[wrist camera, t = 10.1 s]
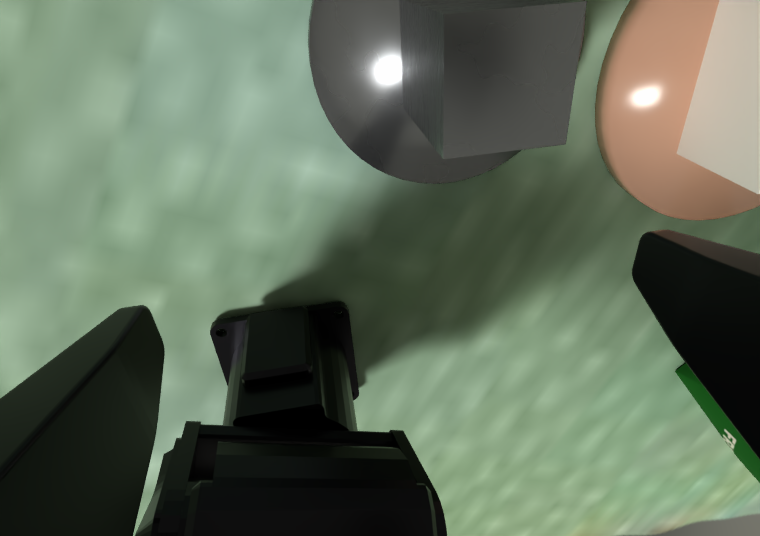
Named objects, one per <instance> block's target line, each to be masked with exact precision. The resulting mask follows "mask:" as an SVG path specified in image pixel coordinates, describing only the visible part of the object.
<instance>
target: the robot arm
mask: <svg viewBox="0 0 760 536" xmlns="http://www.w3.org/2000/svg"><path fill="white" fill-rule="evenodd" d="M632 276H633V280H634V282H635V284H636V286H637V287H638V289H639V291H640V292H641V294H642V296H643V297H644V299H645V301H646V302H647V304H648V306H649V307H650V309H651V310H652V312H653V314H654V315H655V317H656V319H657V320H658V322H659V324H660V325H661V327H662V329H663V330H664V332H665V334H666V335H667V337H668V338H669V340H670V341H671V343H672V344H673V346H674V347H675V349H676V350H677V352H678V353H679V354H680V356H681V357H682V358H683V360H684V361H685V362H686V364H687V365H688V366H689V368H690V369H691V370H692V372H693V373H694V374H695V375H696V377H697V378H698V379H699V381H700V382H701V383H702V385H703V386H704V387H705V389H706V390H707V391H708V393H709V394H710V395H711V397H712V398H713V399H714V400H715V402H716V403H717V404H718V406H719V407H720V408H721V410H722V411H723V412H724V414H725V415H726V416H727V418H728V419H729V420H730V422H731V423H732V424H733V426H734V427H735V428H736V429H737V431H738V432H739V433H740V435H741V436H742V437H743V439H744V440H745V441H746V443H747V444H748V445H749V447H750V448H751V449H752V451H753V452H754V453H755V454H756V456H757V457H758V458H759V460H760V254H757V253H753V252H749V251H746V250H742V249H738V248H735V247H731V246H727V245H723V244H720V243H716V242H712V241H709V240H705V239H701V238H697V237H694V236H690V235H686V234H682V233H679V232H675V231H671V230H658V231H651V232H646V233H645V234H643V235H642V237H641V238H640V241H639V245H638V249H637V253H636V257H635V260H634V264H633V268H632ZM335 311H342V312H341V313H340V314H335V313H334V312H335ZM220 328H222V329H225V330H226V331H219V330H218V329H220ZM210 335H211V338H212V341H213V344H214V347H215V350H216V353H217V355H218V358H219V361H220V364H221V367H222V370H223V373H224V376H225V379H226V382H227V385H228V391H227V399H226V406H225V414H224V421H223V425H203V424H201V422H195V421H186V424H185V427H184V431H183V434H182V438H176V441H175V445H174V448H173V449H172V450H171V451H169V452H167V453H165V454H164V456H163V460H162V464H161V468H160V472H159V476H158V480H157V484H156V488H155V491H154V494H153V497H152V499H151V501H150V503H149V506H148V508H147V510H146V512H145V514H144V517H143V519H142V521H141V523H140V525H139V528H138V530H137V532H136V535H135V536H447V530H446V524H445V518H444V513H443V509H442V506H441V502H440V500H439V497H438V495H437V493H436V491H435V489H434V487H433V485H432V483H431V481H430V479H429V478H428V476H427V474H426V472H425V470H424V468H423V467H422V465H421V463H420V461H419V459H418V457H417V455H416V454H415V452H414V450H413V448H412V446H411V444H410V443H409V441H408V439H407V437H406V435H405V433H404V431H400V430H390V431H389V432H368V431H358V430H357V423H356V417H355V410H354V404H353V400H355V399H356V398H357V397H358V396H359V390H358V382H357V374H356V366H355V358H354V350H353V342H352V334H351V326H350V319H349V311H348V307H347V305H346V304H345V303H343V302H331V303H324V304H317V305H310V306H304V307H302V306H300V307H293V308H287V309H280V310H273V311H267V312H260V313H253V314H250V315H243V316H237V317H230V318H223V319H218V320H215V321H214V322H213V323H212V325H211V330H210ZM163 364H164V344H163V341H162V338H161V336H160V333H159V331H158V329H157V326H156V324H155V321H154V319H153V316H152V314H151V312H150V310H149V309H148V308H147V307H146V306H144V305H139V306H132V307H125V308H121V309H119V310H117V311H116V312H114V313H113V314H112V315H110V316H109V317H108V318H106V319H105V320H104V321H103V322H101V323H100V324H99V325H97V326H96V327H95V328H93V329H92V330H91V331H89V332H88V333H87V334H85V335H84V336H83V337H81V338H80V339H79V340H77V341H76V342H75V343H73V344H72V345H71V346H69V347H68V348H67V349H65V350H64V351H63V352H61V353H60V354H59V355H57V356H56V357H55V358H54V359H52V360H51V361H50V362H48V363H47V364H46V365H44V366H43V367H42V368H40V369H39V370H38V371H36V372H35V373H34V374H32V375H31V376H30V377H28V378H27V379H26V380H24V381H23V382H22V383H20V384H19V385H18V386H16V387H15V388H14V389H12V390H11V391H10V392H9V393H7V394H6V395H5V396H3V397H2V398H1V399H0V536H133V532H134V528H135V523H136V519H137V515H138V511H139V506H140V502H141V498H142V493H143V489H144V485H145V480H146V476H147V472H148V467H149V463H150V459H151V454H152V450H153V446H154V441H155V436H156V429H157V422H158V413H159V403H160V393H161V384H162V374H163Z"/></svg>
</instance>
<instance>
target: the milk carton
mask: <svg viewBox="0 0 760 536" xmlns="http://www.w3.org/2000/svg"><path fill="white" fill-rule="evenodd" d="M675 372H676V373H677V375H678V376H679V377H680V379H681V380H682V382H683V383H684V384H685V386H686V387H687V389H688V390H689V391H690V393H691V394H692V396H693V397H694V398H695V400H696V401H697V403H698V404H699V405H700V407H701V408H702V410H703V411H704V412H705V414H706V415H707V417H708V418H709V419H710V421H711V422H712V424H713V425H714V426H715V428H716V429H717V430H718V432H719V433H720V435H721V436H722V437H723V439H724V440H725V442H726V443H727V444H728V446H729V447H730V448H731V450H732V451H733V452H734V453H735V455H736V456H737V457H738V458H739V460H740V461H741V462H742V463H743V464H744V465H745V467H746V468H747V469H748V470H749V471H750V472H751V473H752V475H753V476H754V477H755V478H756V479H757V480H758V481H759V482H760V460H759V458H758V457H757V456H756V454H755V453H754V452H753V451H752V449H751V448H750V447H749V445H748V444H747V443H746V441H745V440H744V439H743V437H742V436H741V435H740V433H739V432H738V431H737V429H736V428H735V427H734V426H733V424H732V423H731V422H730V420H729V419H728V418H727V416H726V415H725V414H724V412H723V411H722V410H721V408H720V407H719V406H718V404H717V403H716V402H715V400H714V399H713V398H712V397H711V395H710V394H709V393H708V391H707V390H706V389H705V387H704V386H703V385H702V383H701V382H700V381H699V379H698V378H697V377H696V375H695V374H694V373H693V372H692V370H691V369H690V368H689V366H688V365H687V364H686V363H685V364H684V365H682V366H681V367H680V368H678V369H677V370H676V371H675Z"/></svg>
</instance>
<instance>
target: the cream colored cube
mask: <svg viewBox="0 0 760 536" xmlns="http://www.w3.org/2000/svg"><path fill="white" fill-rule="evenodd" d="M676 154H678V155H680V156H682V157H684V158H686V159H688V160H690V161H692V162H694V163H696V164H698V165H700V166H702V167H704V168H706V169H708V170H710V171H712V172H714V173H716V174H718V175H720V176H722V177H724V178H726V179H728V180H730V181H732V182H734V183H736V184H738V185H740V186H742V187H744V188H746V189H748V190H750V191H752V192H754V193H756V194H760V0H719V4H718V7H717V11H716V14H715V18H714V22H713V25H712V29H711V32H710V36H709V39H708V43H707V47H706V50H705V54H704V57H703V61H702V64H701V68H700V71H699V75H698V79H697V82H696V86H695V89H694V93H693V96H692V100H691V104H690V107H689V111H688V114H687V118H686V121H685V125H684V129H683V132H682V136H681V139H680V143H679V146H678V150H677V153H676Z"/></svg>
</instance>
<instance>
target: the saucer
mask: <svg viewBox="0 0 760 536" xmlns="http://www.w3.org/2000/svg"><path fill="white" fill-rule="evenodd" d="M718 4H719V0H630V2H629V4H628V5H627V7H626V9H625V11H624V12H623V14H622V16H621V18H620V20H619V22H618V25H617V27H616V29H615V31H614V33H613V36H612V38H611V40H610V43H609V46H608V49H607V52H606V55H605V58H604V60H603V64H602V68H601V72H600V77H599V81H598V85H597V94H596V103H595V127H596V134H597V140H598V145H599V148H600V152H601V155H602V158H603V160H604V162H605V164H606V166H607V168H608V170H609V172H610V174H611V175H612V176H613V178H614V179H615V180H616V182H617V183H618V184H619V185H620V186H621V187H622V188H623V189H624V190H625V191H626V192H628V193H629V194H630V195H632V196H633V197H635V198H636V199H637V200H639V201H640V202H642V203H643V204H645V205H646V206H648V207H650V208H651V209H653V210H655V211H656V212H659V213H661V214H664V215H666V216H669V217H674V218H678V219H683V220H710V219H718V218H723V217H728V216H732V215H736V214H739V213H742V212H745V211H748V210H751V209H753V208H756V207H758V206H760V194H756V193H754V192H752V191H750V190H748V189H746V188H744V187H742V186H740V185H738V184H736V183H734V182H732V181H730V180H728V179H726V178H724V177H722V176H720V175H718V174H716V173H714V172H712V171H710V170H708V169H706V168H704V167H702V166H700V165H698V164H696V163H694V162H692V161H690V160H688V159H686V158H684V157H682V156H680V155H678V154H676V153H677V150H678V146H679V143H680V139H681V136H682V132H683V129H684V125H685V121H686V118H687V114H688V111H689V107H690V104H691V100H692V96H693V93H694V89H695V86H696V82H697V79H698V75H699V71H700V68H701V64H702V61H703V57H704V54H705V50H706V47H707V43H708V39H709V36H710V32H711V29H712V25H713V22H714V18H715V14H716V11H717V7H718Z"/></svg>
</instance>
